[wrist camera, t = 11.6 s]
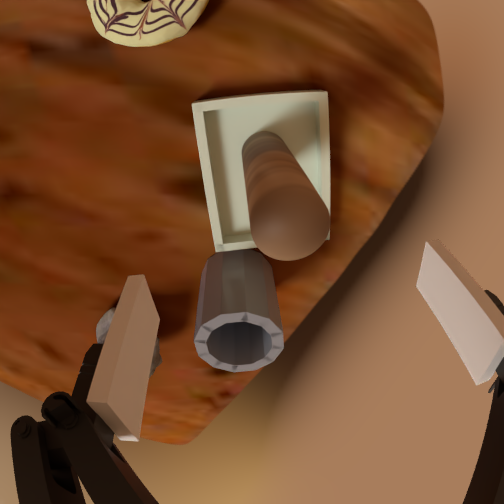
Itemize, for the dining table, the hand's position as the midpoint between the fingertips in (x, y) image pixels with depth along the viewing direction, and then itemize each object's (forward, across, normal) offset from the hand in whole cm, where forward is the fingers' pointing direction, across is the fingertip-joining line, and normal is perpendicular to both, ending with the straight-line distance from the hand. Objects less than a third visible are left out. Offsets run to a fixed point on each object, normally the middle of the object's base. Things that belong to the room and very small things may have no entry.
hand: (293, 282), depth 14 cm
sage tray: (+18, 0, 0) cm, 18 cm away
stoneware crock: (+18, -4, -12) cm, 22 cm away
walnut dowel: (+17, 0, +1) cm, 17 cm away
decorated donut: (+18, -8, +18) cm, 27 cm away
